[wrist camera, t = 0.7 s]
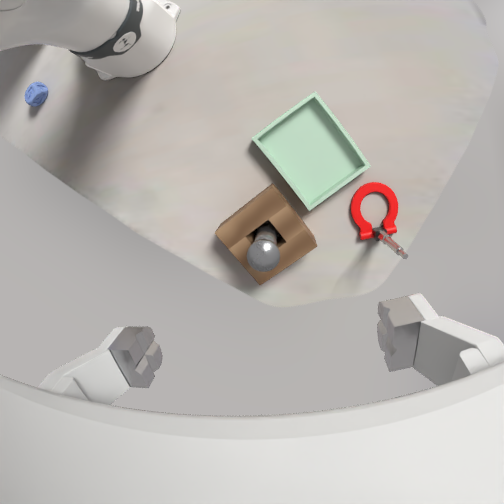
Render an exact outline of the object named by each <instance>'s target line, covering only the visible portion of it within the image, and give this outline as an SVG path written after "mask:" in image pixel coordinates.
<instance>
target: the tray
mask: <svg viewBox="0 0 504 504" xmlns="http://www.w3.org/2000/svg"><path fill="white" fill-rule="evenodd" d="M252 140H253V141H254V142H255V143H256V144H257V146H258V147H259V148H260V149H261V150H262V152H263V153H264V154H265V155H266V156H267V158H268V159H269V160H270V161H271V163H272V164H273V165H274V166H275V167H276V169H277V170H278V171H279V172H280V174H281V175H282V176H283V178H284V179H285V180H286V181H287V183H288V184H289V185H290V186H291V188H292V189H293V190H294V192H295V193H296V194H297V195H298V197H299V198H300V199H301V201H302V202H303V203H304V205H305V206H306V207H307V209H308V210H309V211H310V210H311V209H313V208H314V207H315V206H317V205H318V204H320V203H321V202H322V201H324V200H325V199H326V198H328V197H329V196H331V195H332V194H333V193H335V192H336V191H338V190H339V189H340V188H342V187H343V186H344V185H346V184H347V183H349V182H350V181H351V180H353V179H354V178H355V177H357V176H358V175H360V174H361V173H362V172H364V171H365V170H366V169H368V168H369V167H371V166H370V164H369V163H368V161H367V160H366V158H365V157H364V155H363V154H362V152H361V151H360V150H359V148H358V147H357V145H356V144H355V142H354V141H353V140H352V138H351V137H350V135H349V134H348V133H347V131H346V130H345V129H344V127H343V126H342V125H341V123H340V122H339V121H338V119H337V118H336V117H335V115H334V114H333V113H332V112H331V110H330V109H329V108H328V107H327V105H326V104H325V103H324V102H323V100H322V99H321V98H320V97H319V95H318V94H317V93H316V92H314V93H312V94H311V95H309V96H308V97H306V98H305V99H303V100H302V101H301V102H299V103H298V104H296V105H295V106H294V107H292V108H291V109H290V110H288V111H287V112H285V113H284V114H283V115H281V116H280V117H279V118H277V119H276V120H275V121H273V122H272V123H271V124H269V125H268V126H267V127H265V128H264V129H263V130H262V131H260V132H259V133H258V134H256V135H255V136H254V137H253V138H252Z"/></svg>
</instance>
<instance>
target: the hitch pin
mask: <svg viewBox="0 0 504 504" xmlns="http://www.w3.org/2000/svg"><path fill="white" fill-rule="evenodd" d="M247 260H248V263H249V265H250V266H251V267H252V268H253V269H255V270H257V271H260V272H267V271H270V270H272V269H274V268H275V267H276V266H277V265H278V263H279V260H280V251H279V248H278V246H277V229H276V228H275V227H274V226H273V224H272V223H271V222H270V221H269V220H267V221H266V222H264V223H263V224H262V225H260V226H259V227H258V229H257V233H256V237H255V241H254V242H253V243H252V244H251V245H250V247H249V249H248V252H247Z"/></svg>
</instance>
